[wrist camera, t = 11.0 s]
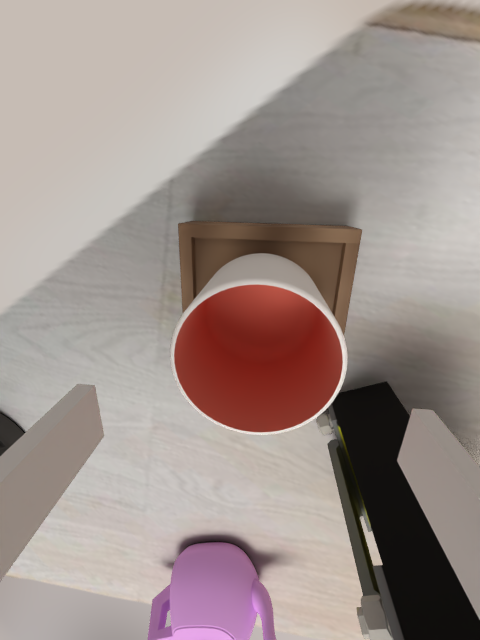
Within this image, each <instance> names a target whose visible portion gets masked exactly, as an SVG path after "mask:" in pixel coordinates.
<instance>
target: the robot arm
mask: <svg viewBox="0 0 480 640" xmlns="http://www.w3.org/2000/svg"><path fill="white" fill-rule="evenodd" d="M103 437H104V432H103V427H102V422H101V416H100V411H99V406H98V400H97V395H96V390H95V385H83V384H77V385H76V386H75V387H74V388H73V389H72V390H71V391H70V392H69V393H68V394H66V395H65V396H64V397H63V398H62V399H61V400H60V401H59V402H58V403H57V404H56V405H55V406H54V407H53V408H51V409H50V410H49V411H48V412H47V413H46V414H45V415H44V416H43V417H42V418H41V419H40V420H39V421H38V422H36V423H35V424H34V425H33V426H32V427H31V428H30V429H29V430H28V431H27V432H26V433H25V434H24V432H23V431H22V430H21V429H20V428H19V427H18V426H17V425H16V424H15V423H13V422H12V421H11V420H10V419H8V418H7V417H5V416H4V415H2V414H1V413H0V582H1V580H2V579H3V577H4V576H5V575H6V573H7V572H8V570H9V569H10V568H11V566H12V565H13V563H14V562H15V561H16V559H17V558H18V556H19V555H20V553H21V552H22V551H23V549H24V548H25V546H26V545H27V544H28V542H29V541H30V539H31V538H32V537H33V535H34V534H35V532H36V531H37V530H38V528H39V527H40V525H41V524H42V523H43V521H44V520H45V518H46V517H47V516H48V514H49V513H50V511H51V510H52V508H53V507H54V506H55V504H56V503H57V501H58V500H59V499H60V497H61V496H62V494H63V493H64V492H65V490H66V489H67V487H68V486H69V485H70V483H71V482H72V480H73V479H74V478H75V476H76V475H77V473H78V472H79V470H80V469H81V468H82V466H83V465H84V463H85V462H86V461H87V459H88V458H89V456H90V455H91V454H92V452H93V451H94V449H95V448H96V447H97V445H98V444H99V442H100V441H101V440H102V438H103ZM397 462H398V464H399V465H400V467H401V469H402V471H403V473H404V475H405V477H406V479H407V481H408V483H409V485H410V487H411V489H412V491H413V492H414V494H415V496H416V498H417V500H418V502H419V504H420V506H421V508H422V510H423V512H424V514H425V516H426V517H427V519H428V521H429V523H430V525H431V527H432V529H433V531H434V533H435V535H436V537H437V539H438V541H439V543H440V544H441V546H442V548H443V550H444V552H445V554H446V556H447V558H448V560H449V562H450V564H451V566H452V568H453V570H454V571H455V573H456V575H457V577H458V579H459V581H460V583H461V585H462V587H463V589H464V591H465V593H466V595H467V596H468V598H469V600H470V602H471V604H472V606H473V608H474V610H475V612H476V614H477V616H478V618H479V620H480V466H479V465H478V464H477V463H476V462H475V460H474V459H473V458H472V457H471V456H470V454H469V453H468V452H467V451H466V450H465V448H464V447H463V446H462V445H461V443H460V442H459V441H458V440H457V439H456V437H455V436H454V435H453V434H452V433H451V431H450V430H449V429H448V428H447V427H446V425H445V424H444V423H443V422H442V420H441V419H440V418H439V417H438V416H437V414H436V413H435V412H434V411H433V410H428V409H414V408H413V409H412V412H411V415H410V419H409V422H408V425H407V429H406V432H405V435H404V439H403V442H402V446H401V449H400V452H399V456H398V459H397Z"/></svg>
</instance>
